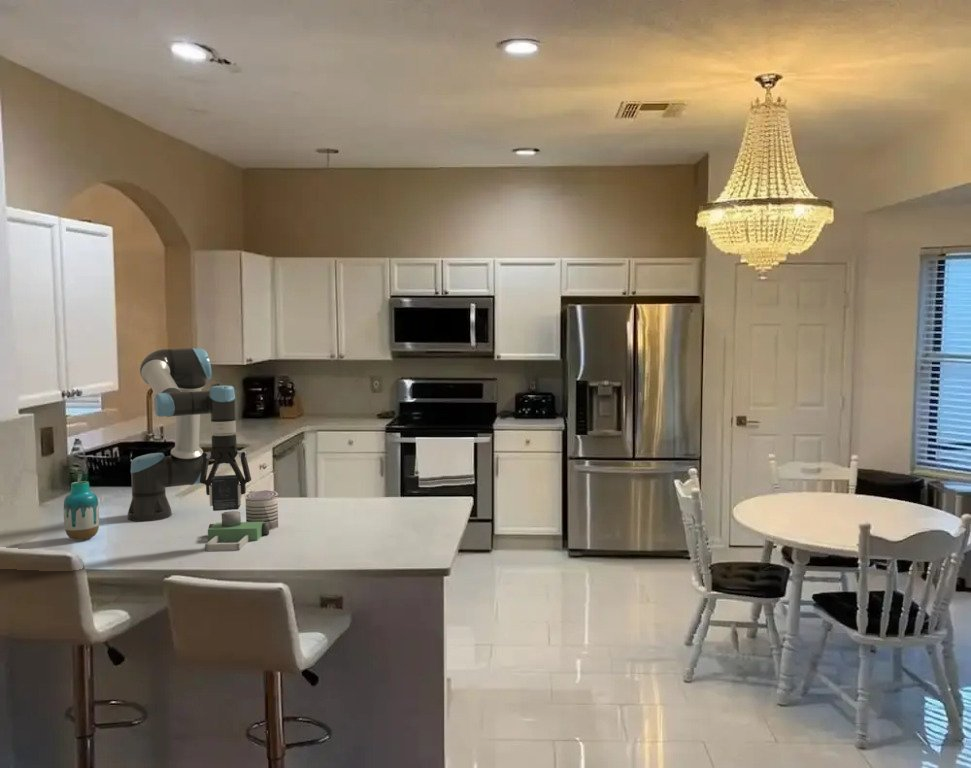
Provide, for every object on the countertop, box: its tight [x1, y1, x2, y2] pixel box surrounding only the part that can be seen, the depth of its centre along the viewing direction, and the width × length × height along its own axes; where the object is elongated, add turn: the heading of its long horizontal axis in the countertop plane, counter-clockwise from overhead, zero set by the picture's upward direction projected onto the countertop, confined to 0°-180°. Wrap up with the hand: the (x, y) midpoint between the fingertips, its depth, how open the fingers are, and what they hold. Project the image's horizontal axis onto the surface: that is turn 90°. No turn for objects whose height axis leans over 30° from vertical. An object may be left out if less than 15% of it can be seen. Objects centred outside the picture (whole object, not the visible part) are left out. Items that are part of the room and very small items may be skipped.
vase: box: [63, 481, 100, 541], centre depth 280 cm, size 11×11×19 cm
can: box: [243, 489, 279, 531], centre depth 293 cm, size 11×11×12 cm
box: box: [211, 474, 241, 512], centre depth 267 cm, size 8×6×11 cm
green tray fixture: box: [204, 510, 271, 552], centre depth 273 cm, size 19×22×8 cm
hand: (226, 504), depth 268 cm, fingers closed on box, 8 cm apart
